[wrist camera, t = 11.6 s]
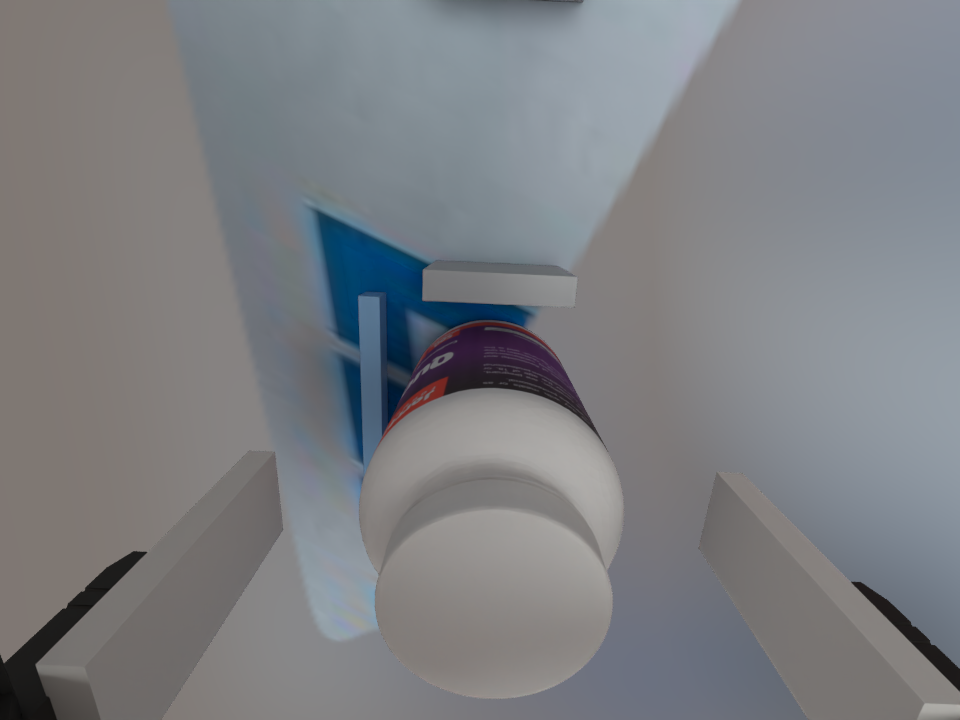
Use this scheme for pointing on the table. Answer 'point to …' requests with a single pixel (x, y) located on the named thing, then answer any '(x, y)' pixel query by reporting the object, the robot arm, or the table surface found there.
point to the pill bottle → (491, 518)
